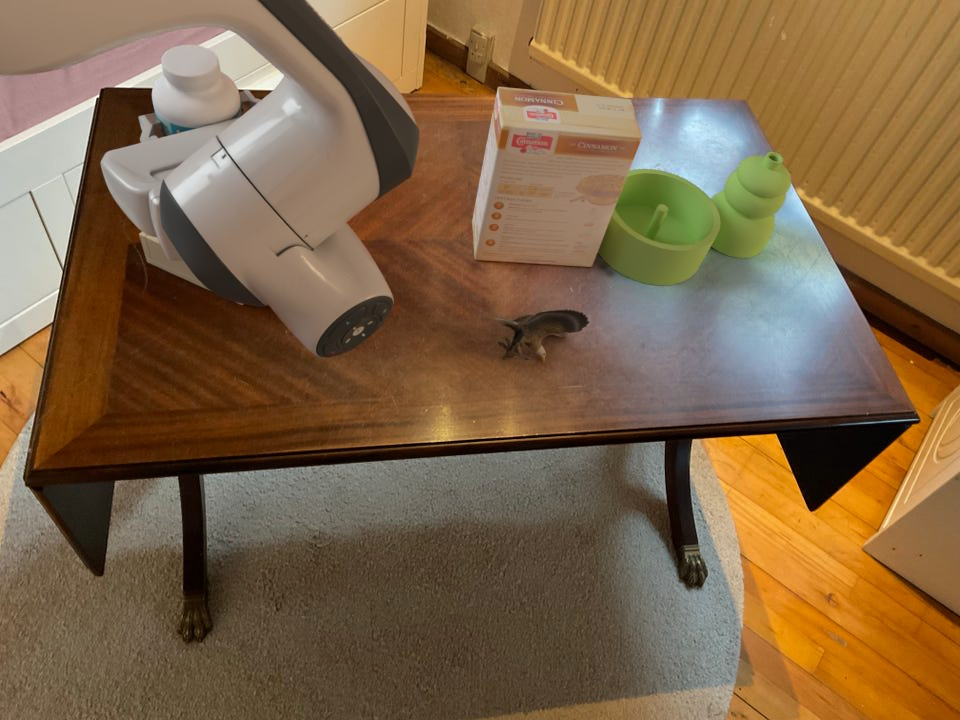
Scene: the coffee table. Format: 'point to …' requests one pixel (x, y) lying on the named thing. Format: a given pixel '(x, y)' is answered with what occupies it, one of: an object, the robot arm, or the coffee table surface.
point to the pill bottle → (193, 90)
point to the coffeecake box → (552, 176)
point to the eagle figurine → (539, 330)
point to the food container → (692, 220)
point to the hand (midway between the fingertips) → (195, 109)
